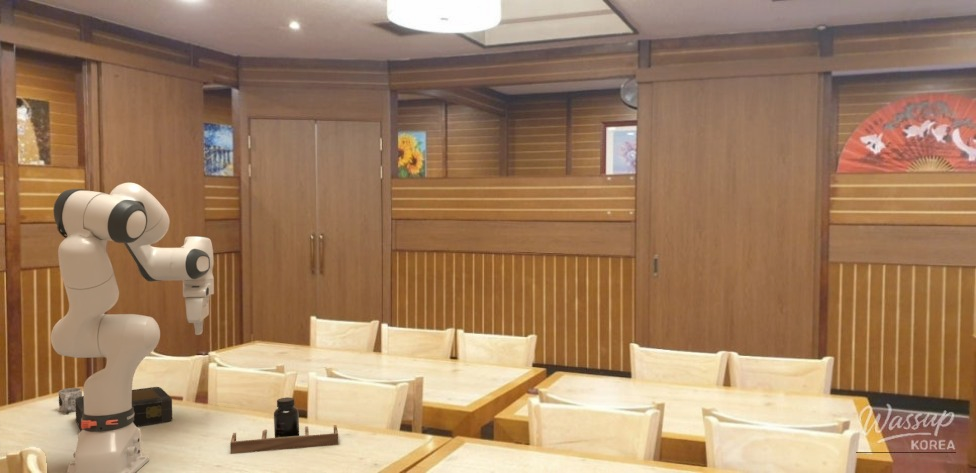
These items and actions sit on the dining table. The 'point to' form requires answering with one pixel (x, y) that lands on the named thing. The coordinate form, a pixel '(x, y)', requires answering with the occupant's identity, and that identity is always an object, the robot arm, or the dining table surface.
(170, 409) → the cash box
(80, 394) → the mug
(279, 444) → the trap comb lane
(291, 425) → the supplement bottle
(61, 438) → the dining table surface
